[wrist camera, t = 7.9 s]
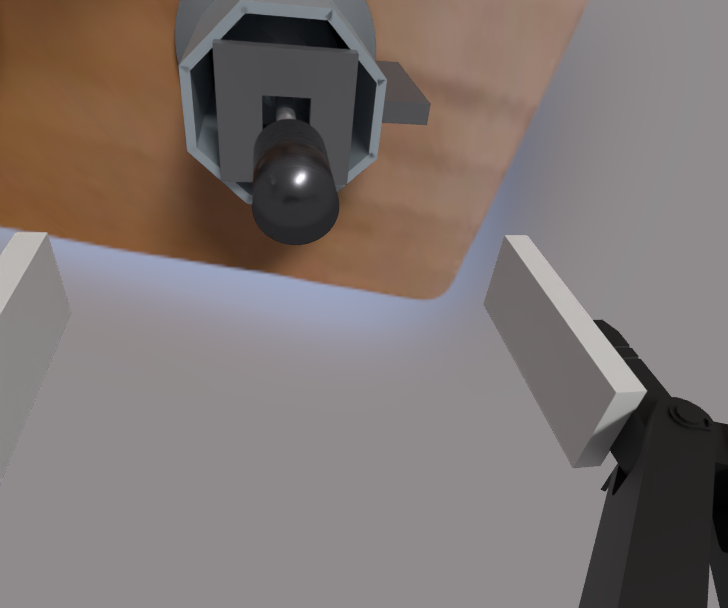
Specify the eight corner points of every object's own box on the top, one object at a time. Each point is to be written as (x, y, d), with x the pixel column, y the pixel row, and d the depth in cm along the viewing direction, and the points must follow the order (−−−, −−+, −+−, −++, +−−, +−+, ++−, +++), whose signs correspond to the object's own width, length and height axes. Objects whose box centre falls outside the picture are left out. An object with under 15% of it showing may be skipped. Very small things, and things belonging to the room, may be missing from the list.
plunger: (221, 119, 37) (193, 295, 21) (214, -11, 32) (170, 89, 16) (334, 125, 39) (387, 293, 23) (343, 1, 34) (418, 104, 18)
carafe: (209, 122, 40) (191, 209, 29) (197, -39, 34) (168, -4, 23) (381, 130, 42) (422, 213, 31) (400, -18, 36) (459, 22, 25)
